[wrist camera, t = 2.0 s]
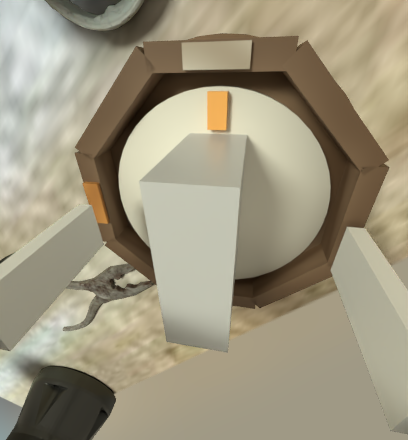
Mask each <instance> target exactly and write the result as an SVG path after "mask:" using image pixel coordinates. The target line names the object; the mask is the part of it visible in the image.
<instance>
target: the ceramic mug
mask: <svg viewBox="0 0 408 440" xmlns="http://www.w3.org/2000/svg"><path fill="white" fill-rule="evenodd" d="M45 1H46V2H47V3H48V4H49V5H50V6H51V7H52V8H53V9H54V10H56V11H57V12H59V13H60V14H61V15H62V16H63V17H65V18H66V19H68V20H70V21H72V22H73V23H75V24H77V25H79V26H81V27H83V28H86V29H91V30H98V31H107V30H114V29H117V28H118V27H120V26H122V25H123V24H125V23H126V22H127V21H129V20H130V19H131V18H132V17H133V16H134V15H135V14H136V13H137V11H138V10H139V8H140V7H141V5H142V3H143V2H144V0H121V1H120V2H118V3H117V4H116V5H108V7H107V9H106V11H105V13H104V14H101V15H96V14H92V13H89V12H86V11H84V10H82V9H81V8H80V7H79V6H78V5H75V4H73V3H72V2H71V1H70V0H45Z"/></svg>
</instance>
